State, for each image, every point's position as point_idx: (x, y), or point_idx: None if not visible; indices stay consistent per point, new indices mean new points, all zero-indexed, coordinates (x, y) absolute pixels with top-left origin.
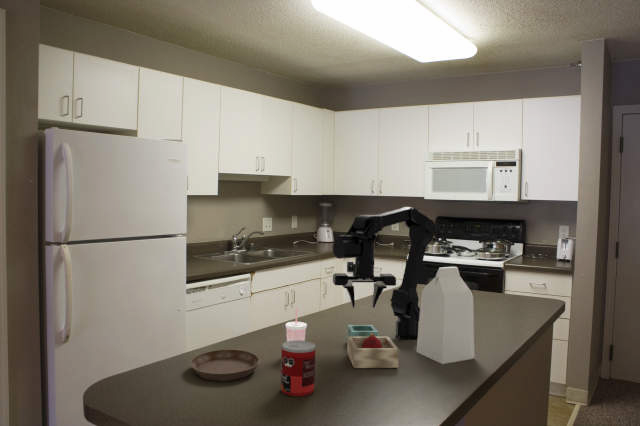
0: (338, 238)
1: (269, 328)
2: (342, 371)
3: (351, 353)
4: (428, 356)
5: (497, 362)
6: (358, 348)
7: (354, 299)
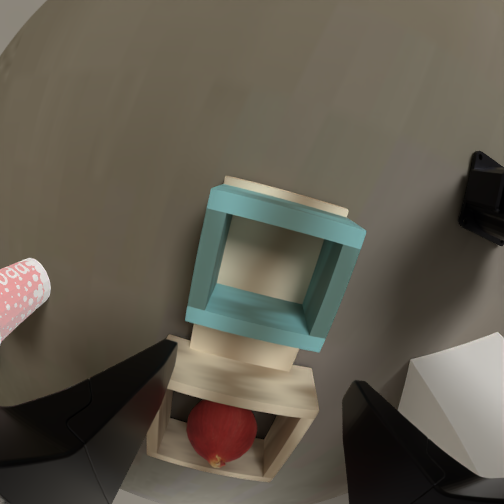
0: None
1: (44, 6)
2: None
3: None
4: (401, 401)
5: None
6: (159, 454)
7: (142, 441)
